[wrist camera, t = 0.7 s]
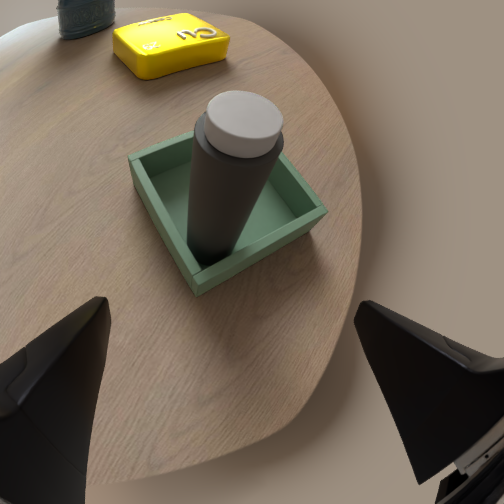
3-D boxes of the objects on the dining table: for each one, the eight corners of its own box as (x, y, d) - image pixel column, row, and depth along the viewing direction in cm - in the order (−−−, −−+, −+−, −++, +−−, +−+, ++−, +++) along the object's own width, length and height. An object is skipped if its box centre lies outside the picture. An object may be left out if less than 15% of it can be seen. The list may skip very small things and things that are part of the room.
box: (309, 230, 26) (328, 211, 23) (196, 297, 22) (198, 286, 18) (240, 140, 29) (249, 113, 25) (133, 182, 24) (127, 155, 20)
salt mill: (242, 252, 23) (311, 133, 10) (201, 274, 22) (229, 160, 9) (218, 214, 24) (258, 79, 11) (178, 234, 22) (180, 96, 10)
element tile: (185, 29, 37) (188, 9, 33) (230, 59, 35) (236, 35, 30) (110, 50, 31) (108, 28, 27) (142, 84, 29) (141, 56, 25)
